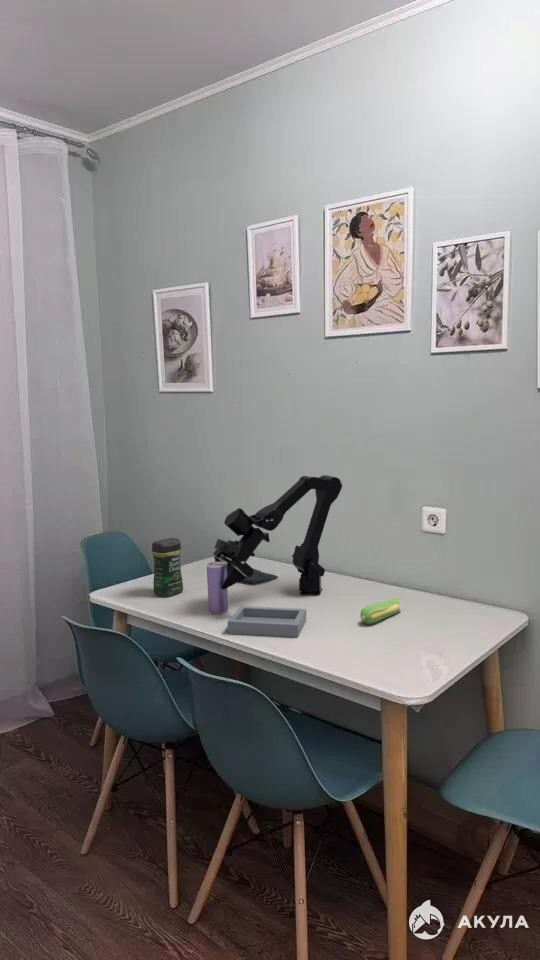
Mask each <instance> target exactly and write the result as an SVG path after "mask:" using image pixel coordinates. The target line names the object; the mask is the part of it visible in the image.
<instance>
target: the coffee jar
mask: <svg viewBox="0 0 540 960" xmlns="http://www.w3.org/2000/svg"><path fill="white" fill-rule="evenodd" d="M151 545H152V546H151V554H152V557H153V565H154V566H153V574H154V575H153V594H154V595H155V596H157V597H161V598H162V597H164V598H165V597H166V598H167V597H171V596H175V595H178V594H181V593H183V591H184V583H183V577H182V568H181V567H182V566H181V554H182V545H181V540H180V539H179V538H177V537H168V538H165V539H164V538H163V539H160V540H156V541H153V542H152V544H151Z"/></svg>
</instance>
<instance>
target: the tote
mask: <svg viewBox="0 0 540 960" xmlns="http://www.w3.org/2000/svg"><path fill="white" fill-rule="evenodd" d="M231 615H232V616H230V618H229V619H228V620H227V622H226V623H227V634H231V635H248V636H249V635H250V636H252V635H253V636H265V637H266V636H268V637H285V638H287V637H289V638H299V636H300V634H301V633H302V631H303V628H304V627H305V624H306V623H307V609H306V608H292V607H291V608H289V607H269V606H268V607H267V606H249V605H248V606H246V605H244V606H243V605H239V607H238V608H237V609H235V611H234V613H233V614H231Z"/></svg>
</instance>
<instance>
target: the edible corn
mask: <svg viewBox="0 0 540 960" xmlns="http://www.w3.org/2000/svg"><path fill="white" fill-rule="evenodd" d="M401 600H402V597H401V596H397V597H394V598H390V599H387V600H385V601H381V602H378V603H373V604H369V605H367V606H364V607H363V608H362V609H361V611H360V614H359V615H360V619H361V622H362V623H363V624H367V625H374V624H376V623H378V622H380V621H382V619H383V620H384V618H385V619H387V618H389V617H391V615H392V616H393V614H394V615H396V614H398V612H399V613H401V612H400V611H401V610H400V601H401ZM373 623H374V624H373Z"/></svg>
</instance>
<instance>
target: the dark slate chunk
mask: <svg viewBox="0 0 540 960" xmlns="http://www.w3.org/2000/svg"><path fill="white" fill-rule="evenodd" d="M226 566H227V565H226ZM232 566H233V565H232ZM227 567H228V566H227ZM233 567H235V566H233ZM229 568H230V567H229ZM253 569H254V575H253V576H252V577H251V579H250V578H248V577H247V576H246V577H247V579H244V580H242V581H240V582H239V583H241V582H242V584H246V583H248V585H256V584H260V583H263V582H264V581H265V582H269V581H274V580H276V579H278V578H277V577H278V576H277V575H276V574H273V573H268V572H264V571H262V570H258V569H256V568H253ZM229 573H230V569H229V570H228V571H227V576H228V575H229ZM273 579H274V580H273ZM265 582H264V583H265Z"/></svg>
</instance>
